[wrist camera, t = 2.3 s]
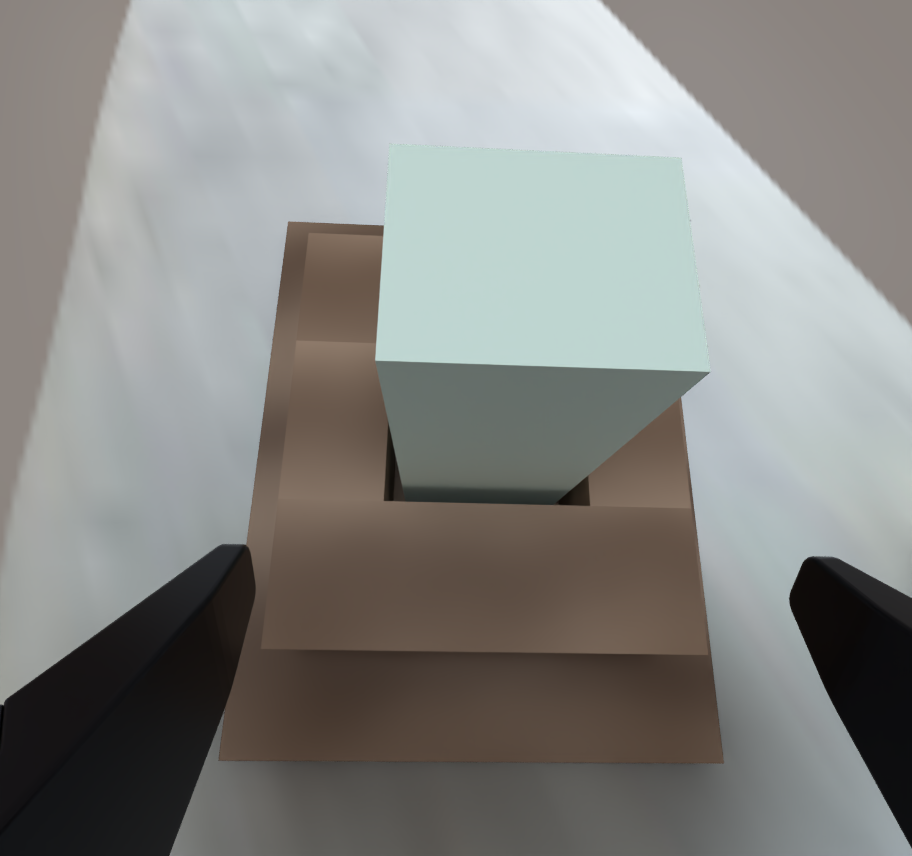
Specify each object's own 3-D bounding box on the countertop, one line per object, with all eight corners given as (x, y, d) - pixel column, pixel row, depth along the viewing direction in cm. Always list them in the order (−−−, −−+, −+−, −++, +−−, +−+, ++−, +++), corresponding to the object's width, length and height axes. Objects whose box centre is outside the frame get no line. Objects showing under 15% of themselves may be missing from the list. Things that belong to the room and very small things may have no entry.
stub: (546, 511, 20) (711, 371, 8) (403, 507, 20) (365, 360, 8) (542, 403, 21) (680, 151, 10) (407, 399, 21) (381, 136, 9)
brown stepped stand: (714, 758, 19) (802, 804, 14) (225, 755, 18) (159, 802, 14) (656, 246, 25) (705, 168, 20) (291, 230, 24) (261, 147, 20)
